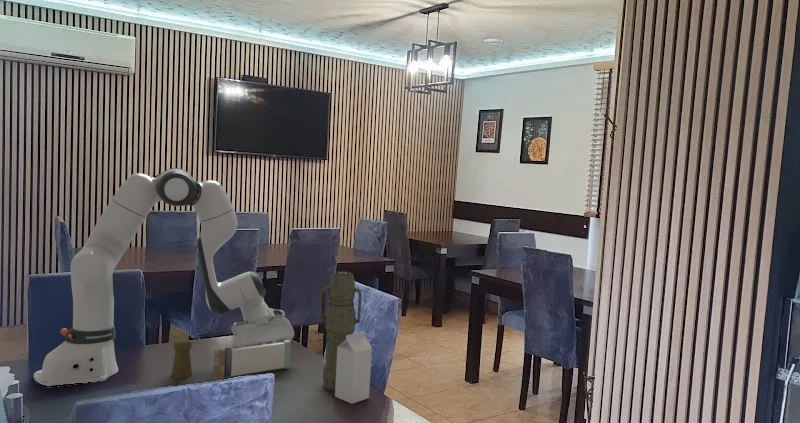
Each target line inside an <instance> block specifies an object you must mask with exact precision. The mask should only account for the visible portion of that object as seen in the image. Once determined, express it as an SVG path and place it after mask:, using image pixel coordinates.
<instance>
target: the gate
mask: <svg viewBox="0 0 800 423" xmlns="http://www.w3.org/2000/svg"><path fill="white" fill-rule="evenodd" d="M291 344H292V342H291V341H289V340H285V341H283V342H281V343H273V344H265V345H258V346H250V347H243V348H237V347H236V348H232V347H224V351H225V367H224V378H230V377H235V376H242V375H247V374H253V373H261V372H265V371H272V370H278V369H285V368H286V369H287V368H290V366H291V349H292V348H291V346H292V345H291Z"/></svg>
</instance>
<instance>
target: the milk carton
mask: <svg viewBox="0 0 800 423" xmlns="http://www.w3.org/2000/svg"><path fill="white" fill-rule="evenodd" d="M372 352H373V348H372V346H371V344H370V343H369V341H368V340H367V338H366V336H365V331H361V332H357V333H356V332H355V333H353V334H351V335H347V336H346V340H345V341H344V342H342V343H341V344H340V345H339V346H338V347H337V365H336V385H335V391H334V397H335V398H337V399H339V400H342V401H344V402H346V403H349V404H351V405H353V404H355V403H358V402H361V401H365V400H367V399H369V398H370V388H371V367H372Z"/></svg>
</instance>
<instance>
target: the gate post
mask: <svg viewBox="0 0 800 423" xmlns="http://www.w3.org/2000/svg"><path fill="white" fill-rule="evenodd" d="M224 367H225V349H224V350H223V349H214V350H213V370H212V380H213V381H215V382H216V380H221V379H224V380H225V377H224Z"/></svg>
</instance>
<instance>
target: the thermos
mask: <svg viewBox="0 0 800 423" xmlns="http://www.w3.org/2000/svg"><path fill="white" fill-rule="evenodd" d="M327 291H328V293H329V294H328V296H329V297H328V298H329V302H328V307H327V309H326V295H327V294H326V293H327ZM355 293H357V294H358V301H357V302H358V304H357V305H358V306H357V318H356V309H355V303H354V301H355ZM361 308H362V291H361V289H360V288H357V287H356V281H355V278H354V274H353V273H351V272H350V271H346V270H345V271H344V270H343V271H342V270H339V271H335V272H332V275H331V277H330V281H329V286H326V287H324V289H322V292H321V320H322V322H324V323H325V331H326V346H325V347H326V348H325V361H324V364H323V369H322V370H323V371H322V372H323V373H322V379H323V382H322V387H323V389H325V390H327V391H330V392H335V385H336V365H337V347H338V346H339V345H340V344H341V343H342V342H344V341H345V340H346V336H347V335H351V334H354V332H355V329H356V325H357V324H360V321H361V314H362V312H361ZM325 314H326V315H325Z"/></svg>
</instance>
